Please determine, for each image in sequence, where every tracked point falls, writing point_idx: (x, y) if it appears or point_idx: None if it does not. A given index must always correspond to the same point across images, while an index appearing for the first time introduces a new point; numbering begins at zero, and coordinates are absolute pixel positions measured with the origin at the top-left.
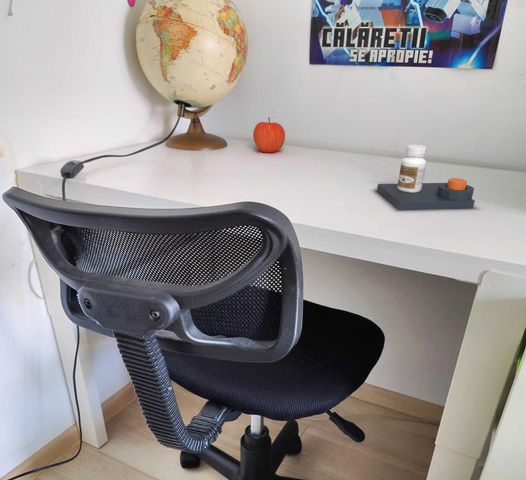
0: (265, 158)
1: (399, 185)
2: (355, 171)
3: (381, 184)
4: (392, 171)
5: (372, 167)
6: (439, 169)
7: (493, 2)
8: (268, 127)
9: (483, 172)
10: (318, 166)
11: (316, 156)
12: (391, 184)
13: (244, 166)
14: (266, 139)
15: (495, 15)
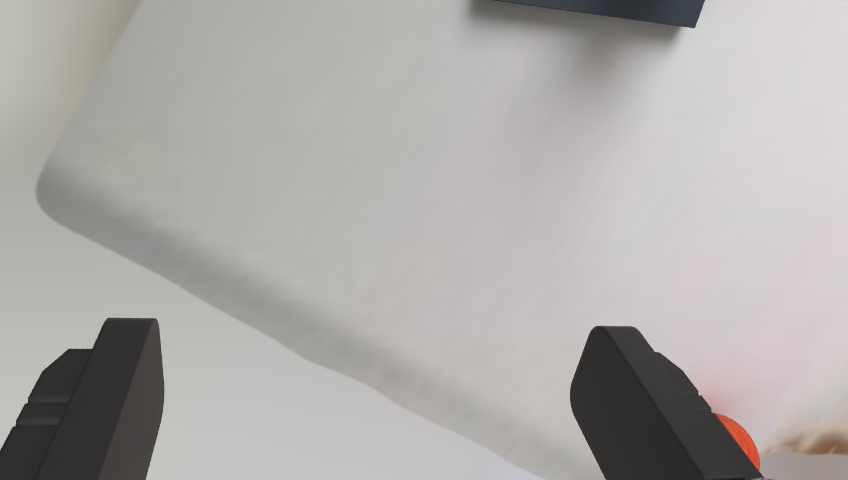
0: (736, 370)
1: None
2: (602, 236)
3: (689, 19)
4: (499, 225)
5: (530, 271)
6: (337, 231)
7: (726, 438)
8: (747, 455)
9: (198, 180)
10: (664, 292)
11: None
12: (661, 12)
13: (827, 305)
14: (738, 427)
15: (641, 346)
